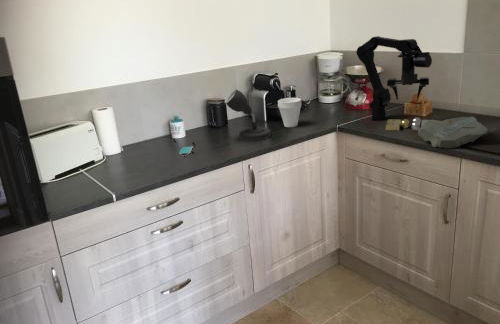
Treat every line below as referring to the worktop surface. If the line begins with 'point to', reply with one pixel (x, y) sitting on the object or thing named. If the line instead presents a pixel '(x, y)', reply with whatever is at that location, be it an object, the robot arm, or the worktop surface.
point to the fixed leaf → (418, 123)
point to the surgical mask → (185, 149)
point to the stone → (452, 131)
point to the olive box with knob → (396, 124)
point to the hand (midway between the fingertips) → (407, 99)
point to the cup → (290, 111)
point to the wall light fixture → (241, 104)
